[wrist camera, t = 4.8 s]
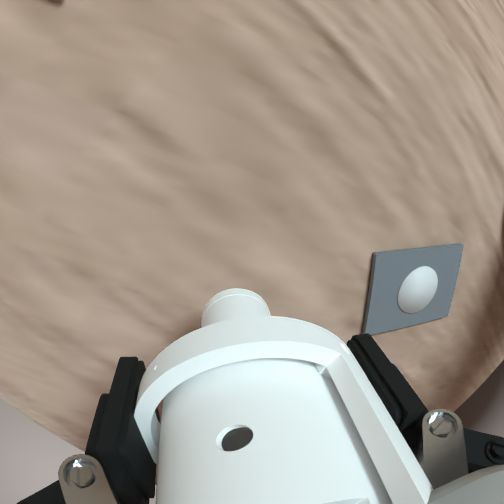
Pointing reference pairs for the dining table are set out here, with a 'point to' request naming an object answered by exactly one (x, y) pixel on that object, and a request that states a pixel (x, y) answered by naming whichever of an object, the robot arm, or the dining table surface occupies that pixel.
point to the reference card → (411, 287)
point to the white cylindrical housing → (270, 416)
